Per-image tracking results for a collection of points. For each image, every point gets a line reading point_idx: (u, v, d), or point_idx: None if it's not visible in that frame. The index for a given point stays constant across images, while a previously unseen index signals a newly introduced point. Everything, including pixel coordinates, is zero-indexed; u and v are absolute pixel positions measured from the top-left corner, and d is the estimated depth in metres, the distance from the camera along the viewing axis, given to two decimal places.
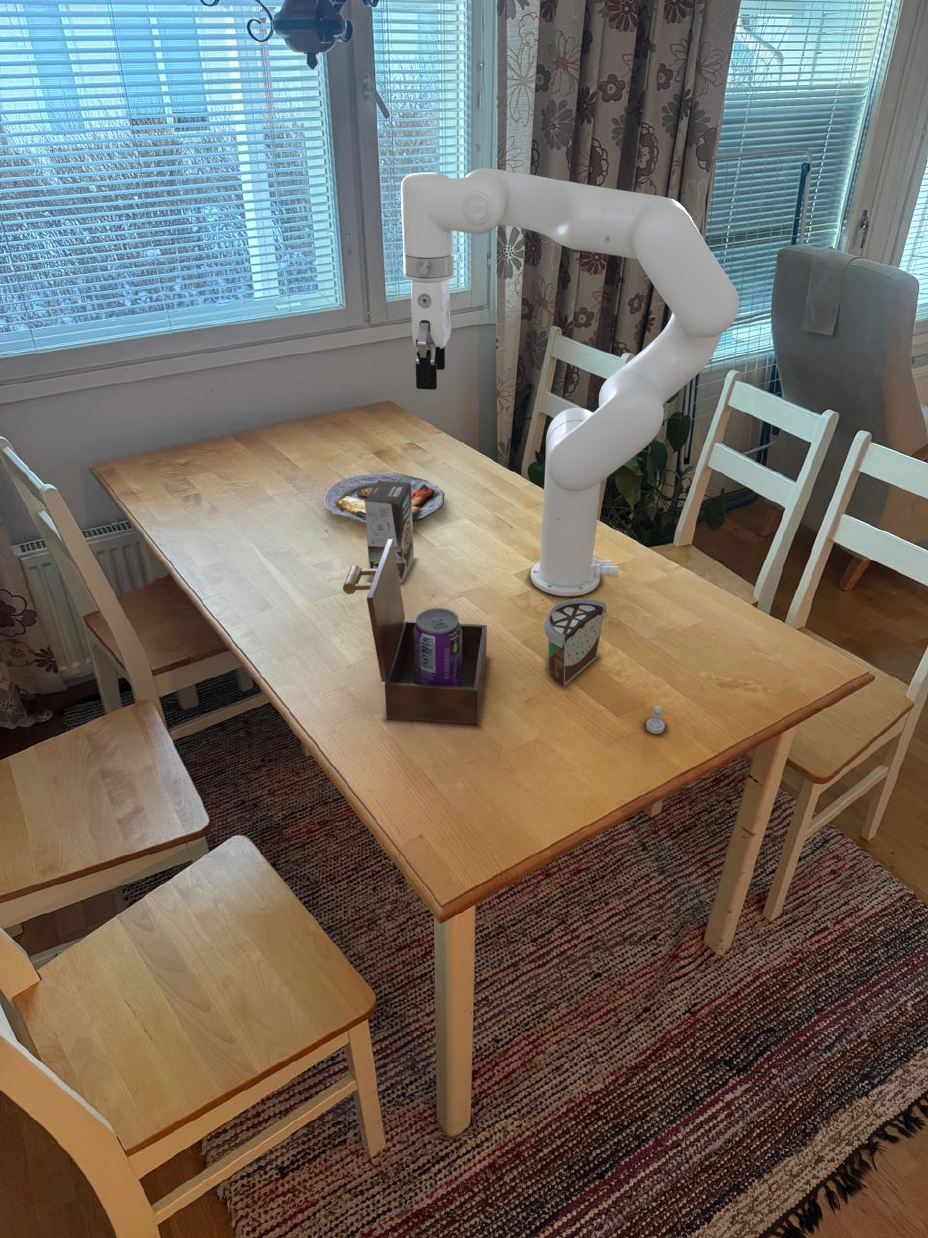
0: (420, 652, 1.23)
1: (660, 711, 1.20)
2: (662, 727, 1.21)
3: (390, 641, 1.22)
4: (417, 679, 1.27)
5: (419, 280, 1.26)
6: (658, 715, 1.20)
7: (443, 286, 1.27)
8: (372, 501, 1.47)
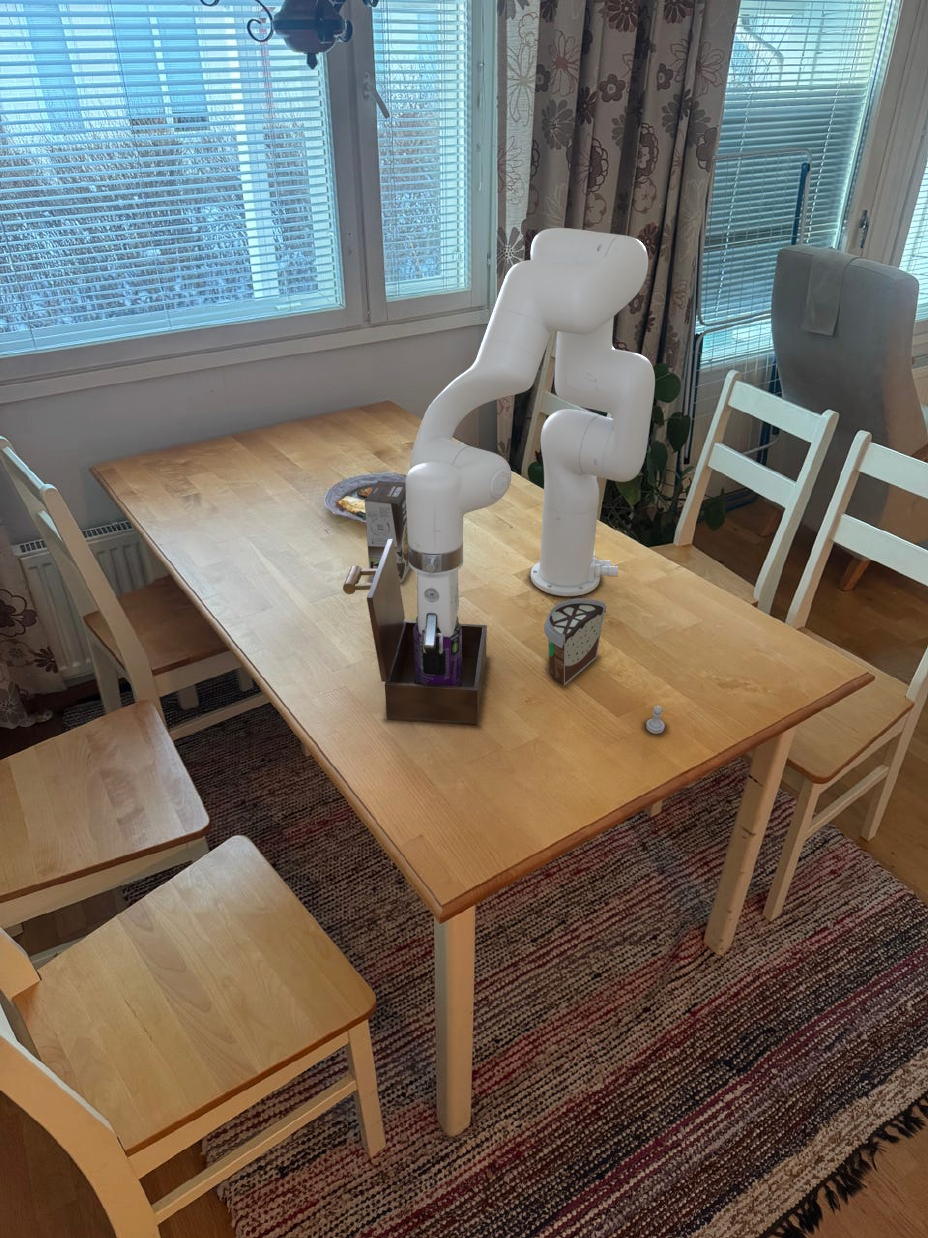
0: (420, 652, 1.23)
1: (660, 711, 1.20)
2: (662, 727, 1.21)
3: (390, 641, 1.22)
4: (417, 679, 1.27)
5: (425, 574, 1.14)
6: (658, 715, 1.20)
7: (452, 577, 1.15)
8: (372, 501, 1.47)
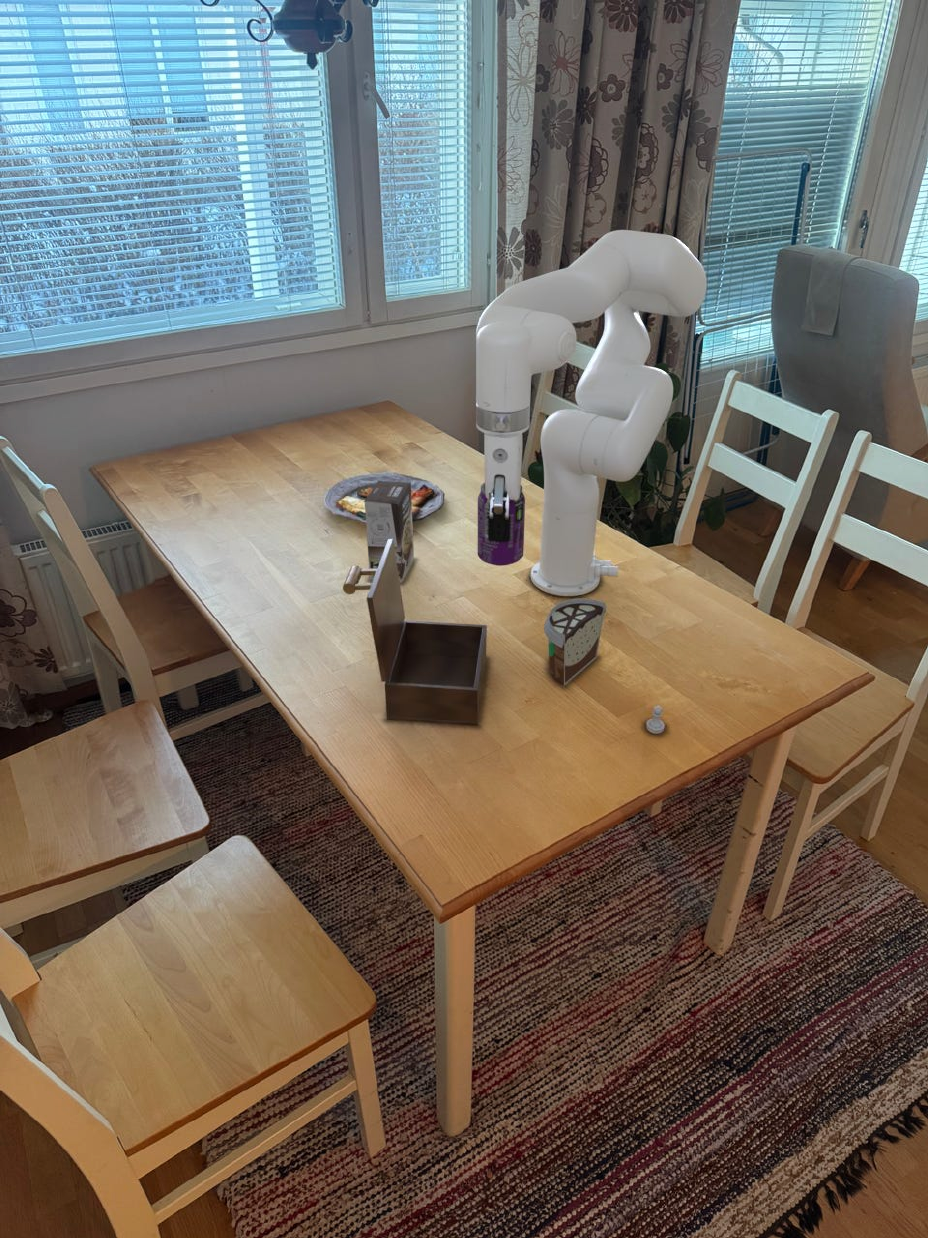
0: (485, 519, 1.26)
1: (660, 711, 1.20)
2: (662, 727, 1.21)
3: (390, 641, 1.22)
4: (480, 549, 1.30)
5: (494, 434, 1.17)
6: (658, 715, 1.20)
7: (519, 439, 1.18)
8: (372, 501, 1.47)
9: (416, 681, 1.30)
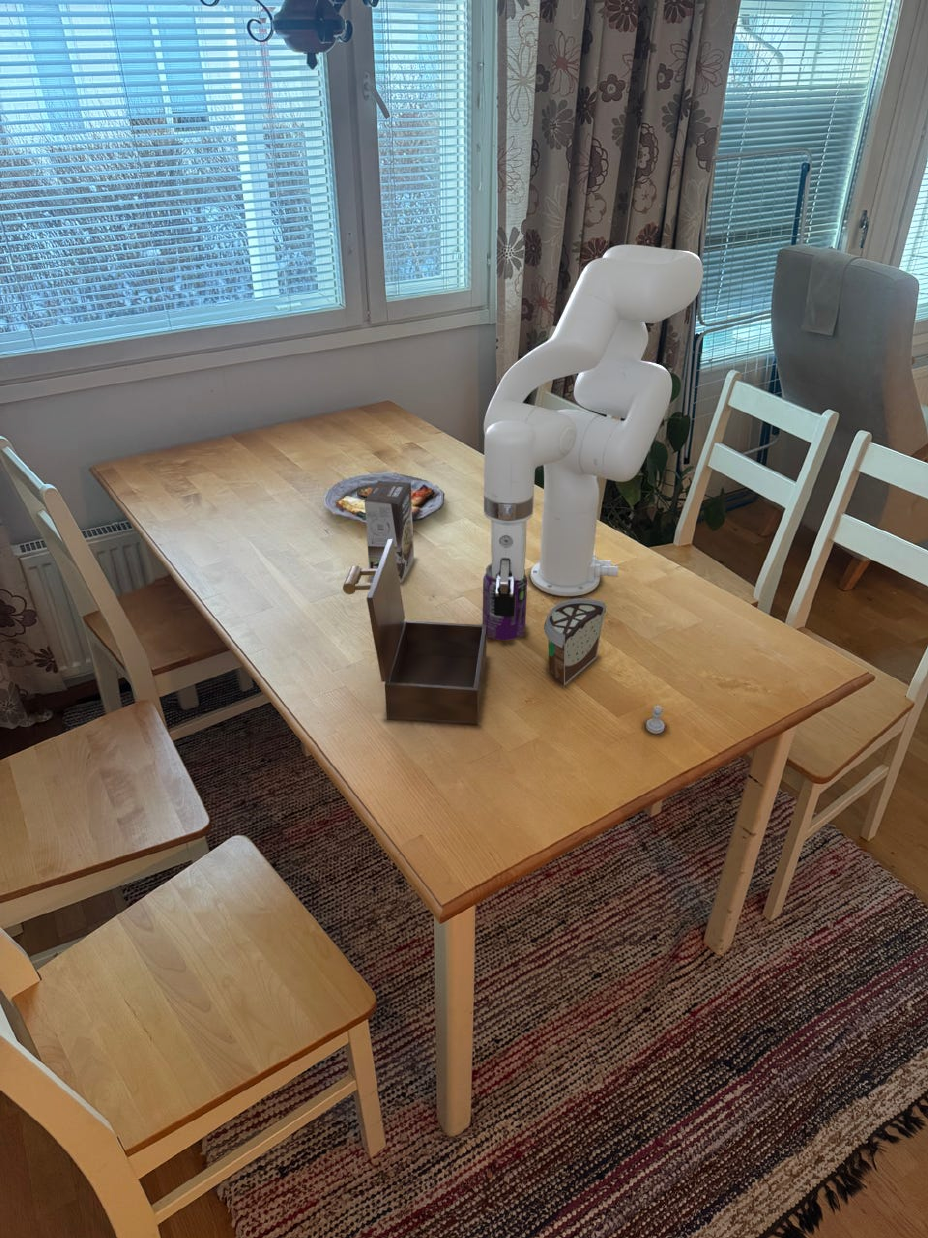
0: (489, 599, 1.35)
1: (660, 711, 1.20)
2: (662, 727, 1.21)
3: (390, 641, 1.22)
4: None
5: (501, 522, 1.27)
6: (658, 715, 1.20)
7: (524, 526, 1.28)
8: (372, 501, 1.47)
9: (416, 681, 1.30)
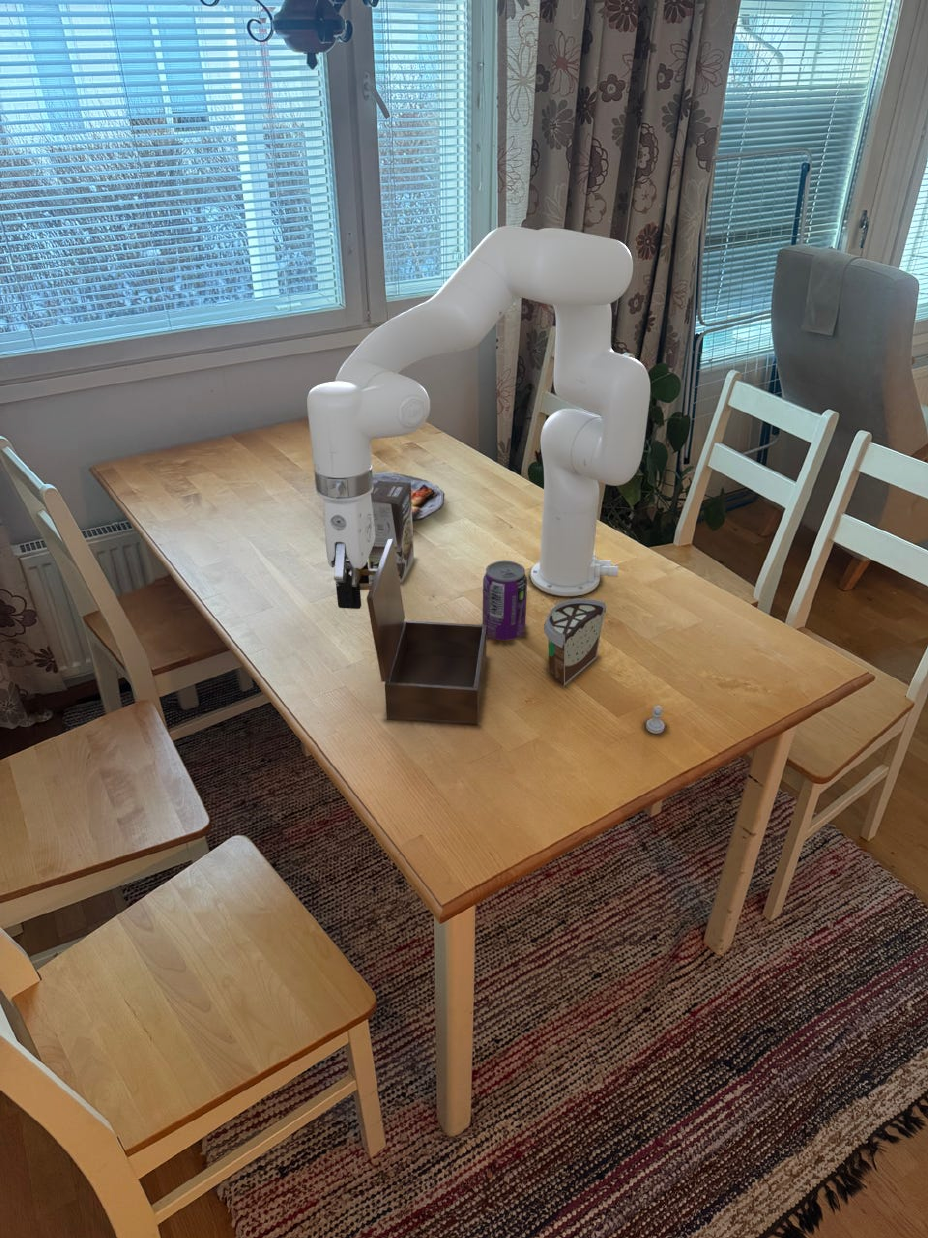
0: (489, 599, 1.36)
1: (660, 711, 1.20)
2: (662, 727, 1.21)
3: (390, 641, 1.22)
4: None
5: (332, 500, 1.09)
6: (658, 715, 1.20)
7: (360, 505, 1.11)
8: (372, 501, 1.47)
9: (416, 681, 1.30)
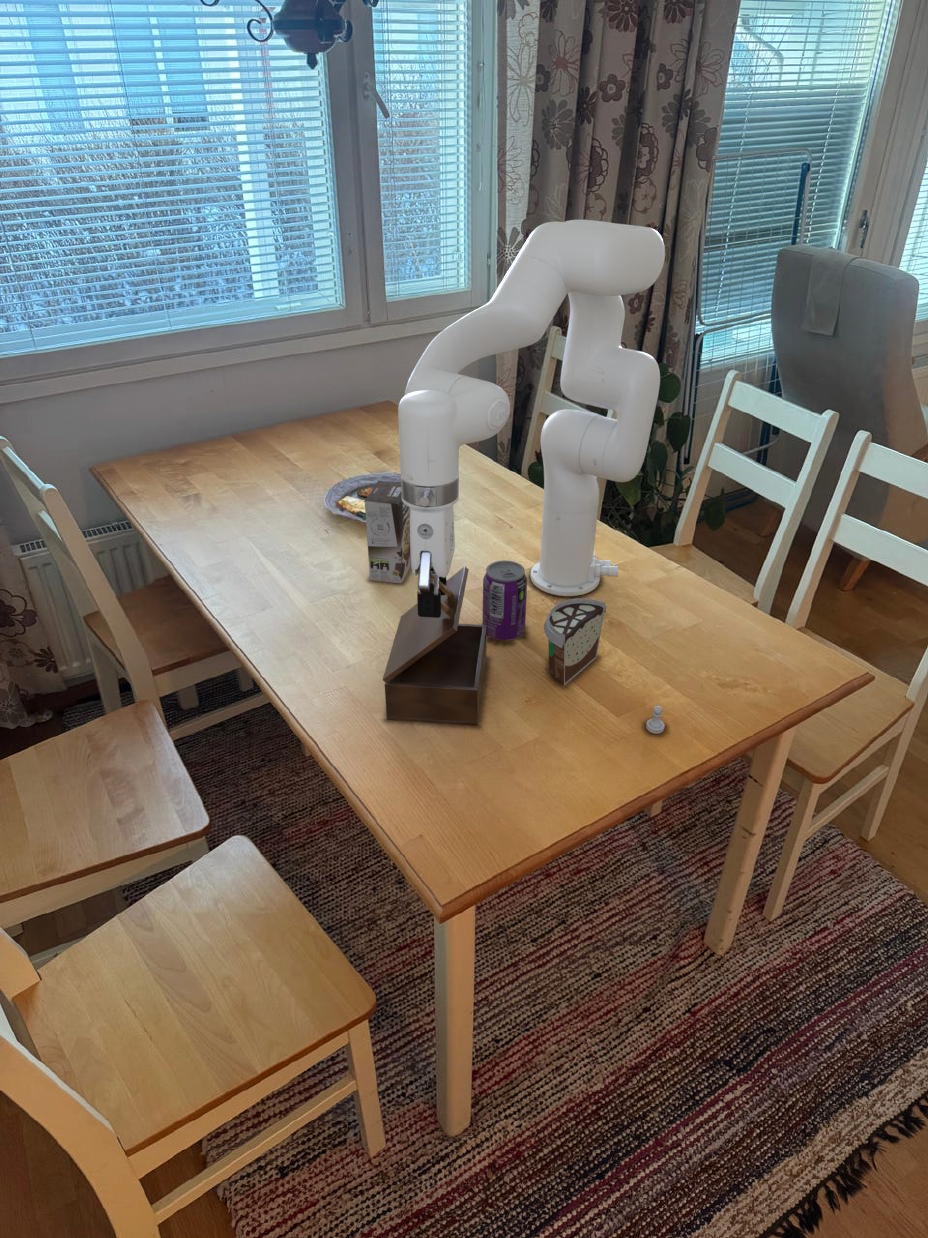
0: (489, 599, 1.35)
1: (660, 711, 1.20)
2: (662, 727, 1.21)
3: None
4: None
5: (419, 508, 1.09)
6: (658, 715, 1.20)
7: (447, 513, 1.10)
8: (372, 501, 1.47)
9: (416, 681, 1.30)
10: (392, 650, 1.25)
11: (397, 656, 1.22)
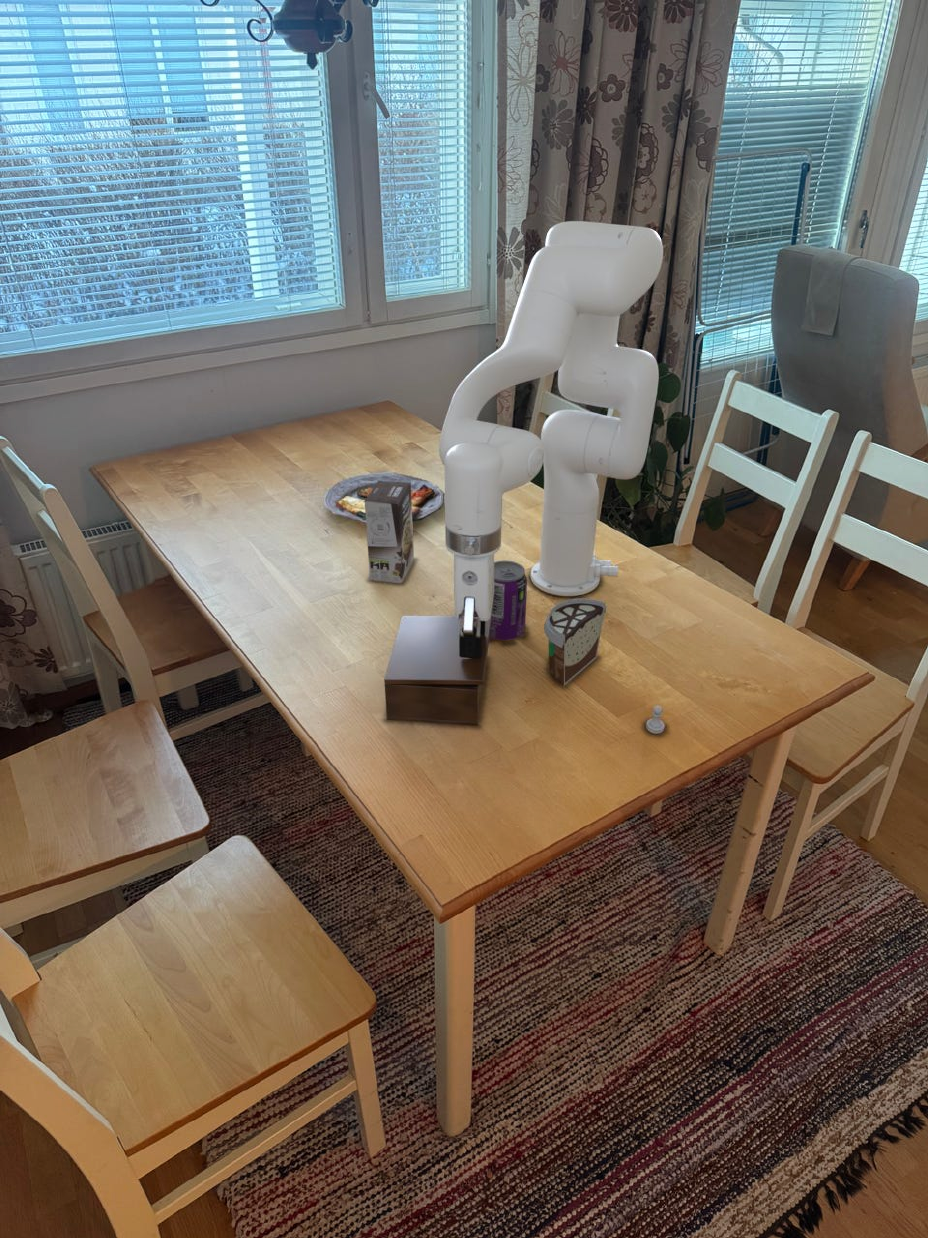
0: None
1: (660, 711, 1.20)
2: (662, 727, 1.21)
3: None
4: None
5: (464, 556, 1.12)
6: (658, 715, 1.20)
7: (490, 560, 1.13)
8: (372, 501, 1.47)
9: None
10: (395, 651, 1.25)
11: (403, 664, 1.22)
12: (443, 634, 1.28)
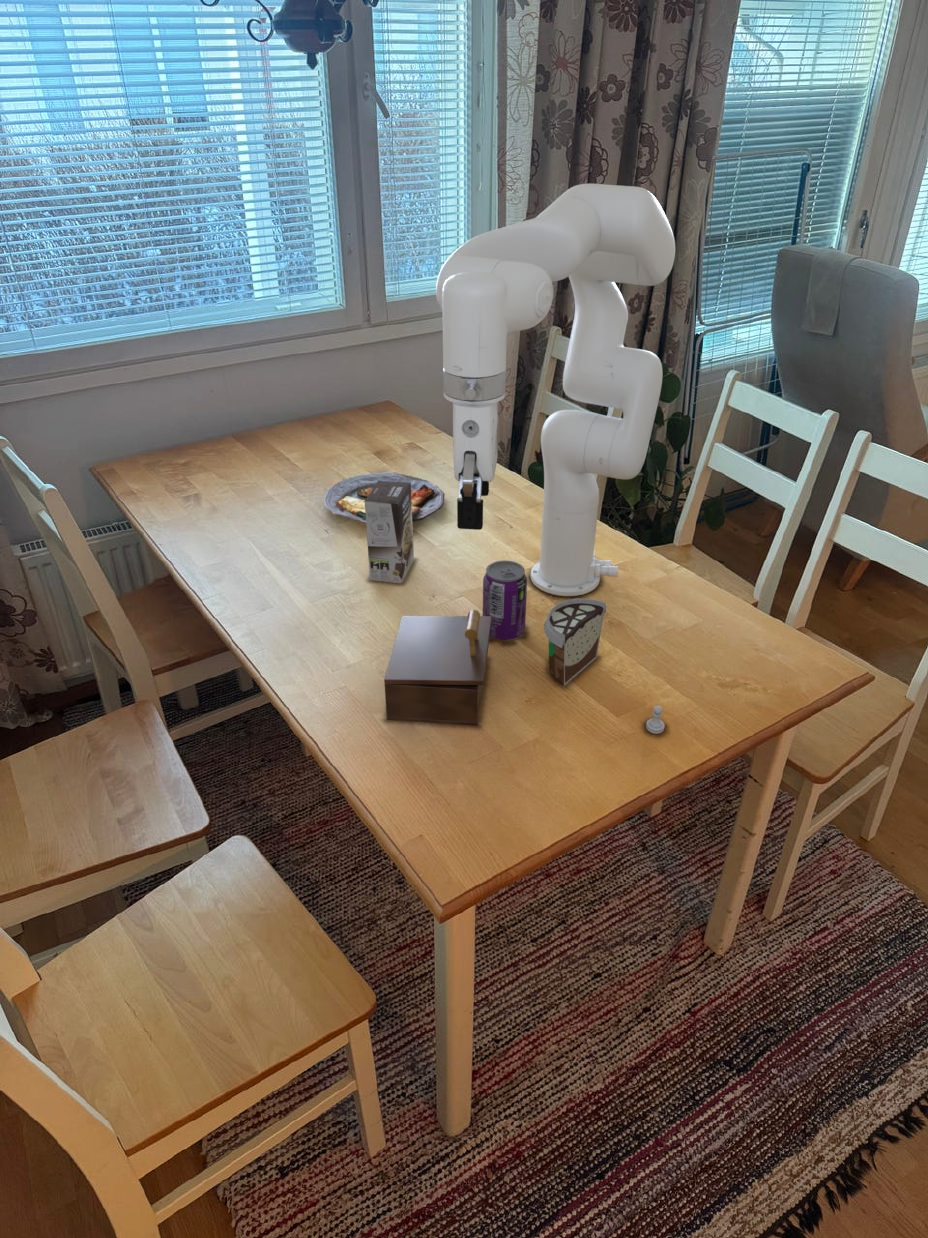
0: (489, 599, 1.36)
1: (660, 711, 1.20)
2: (662, 727, 1.21)
3: None
4: None
5: (464, 403, 1.01)
6: (658, 715, 1.20)
7: (493, 409, 1.02)
8: (372, 501, 1.47)
9: None
10: (395, 651, 1.25)
11: (403, 664, 1.22)
12: (443, 634, 1.28)
